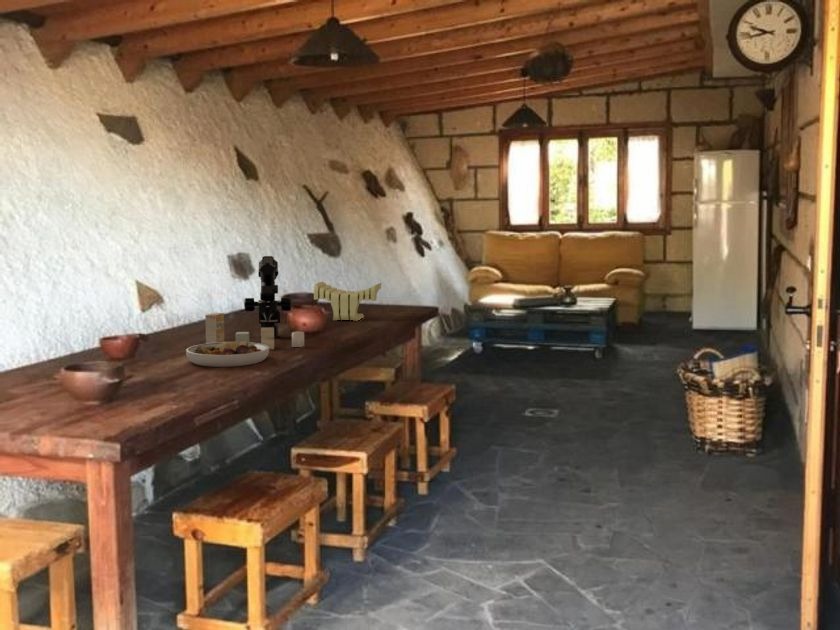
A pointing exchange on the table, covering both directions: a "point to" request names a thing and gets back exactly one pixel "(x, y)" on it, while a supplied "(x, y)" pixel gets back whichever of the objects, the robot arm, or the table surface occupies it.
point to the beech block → (267, 337)
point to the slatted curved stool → (345, 300)
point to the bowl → (227, 354)
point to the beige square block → (297, 339)
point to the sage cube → (242, 336)
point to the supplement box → (214, 327)
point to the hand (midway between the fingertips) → (267, 320)
